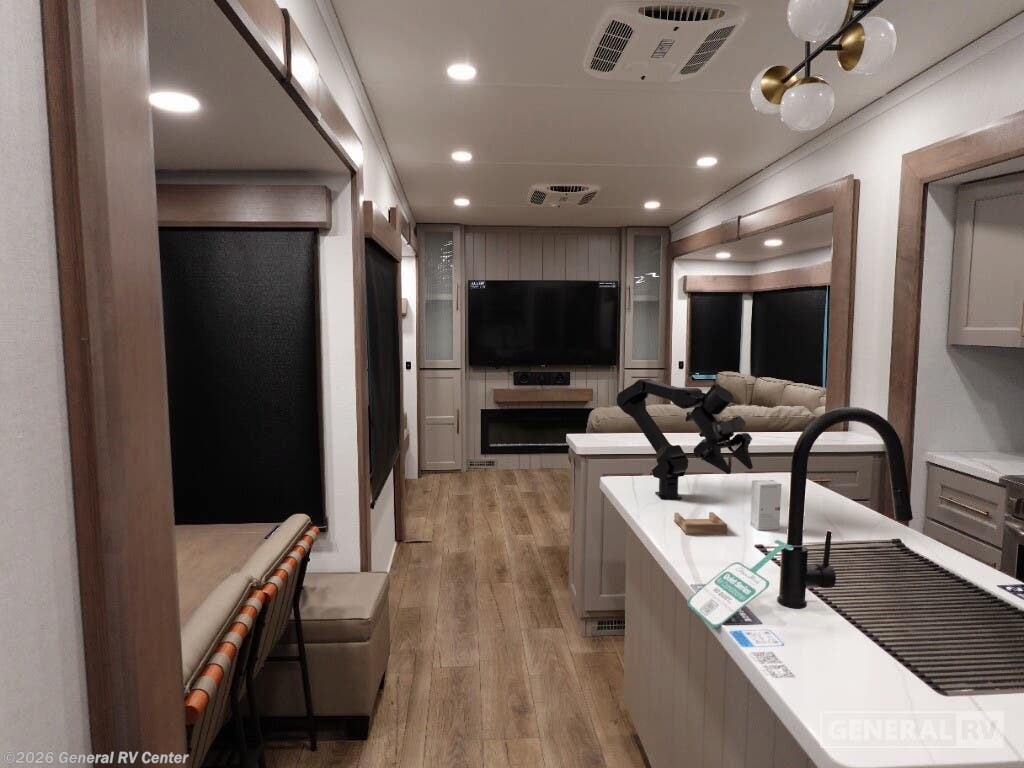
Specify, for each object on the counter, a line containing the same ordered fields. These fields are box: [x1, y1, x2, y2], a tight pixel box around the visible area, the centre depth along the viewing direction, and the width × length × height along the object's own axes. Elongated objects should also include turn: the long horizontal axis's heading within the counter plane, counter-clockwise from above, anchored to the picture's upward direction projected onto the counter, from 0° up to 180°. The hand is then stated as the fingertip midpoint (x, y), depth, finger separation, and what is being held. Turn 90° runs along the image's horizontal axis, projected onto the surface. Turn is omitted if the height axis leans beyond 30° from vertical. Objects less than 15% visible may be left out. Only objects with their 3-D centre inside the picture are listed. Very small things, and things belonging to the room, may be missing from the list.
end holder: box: [673, 511, 728, 536], centre depth 154 cm, size 10×10×2 cm
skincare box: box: [749, 479, 782, 531], centre depth 154 cm, size 6×4×12 cm
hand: (740, 470), depth 159 cm, fingers open, 9 cm apart
